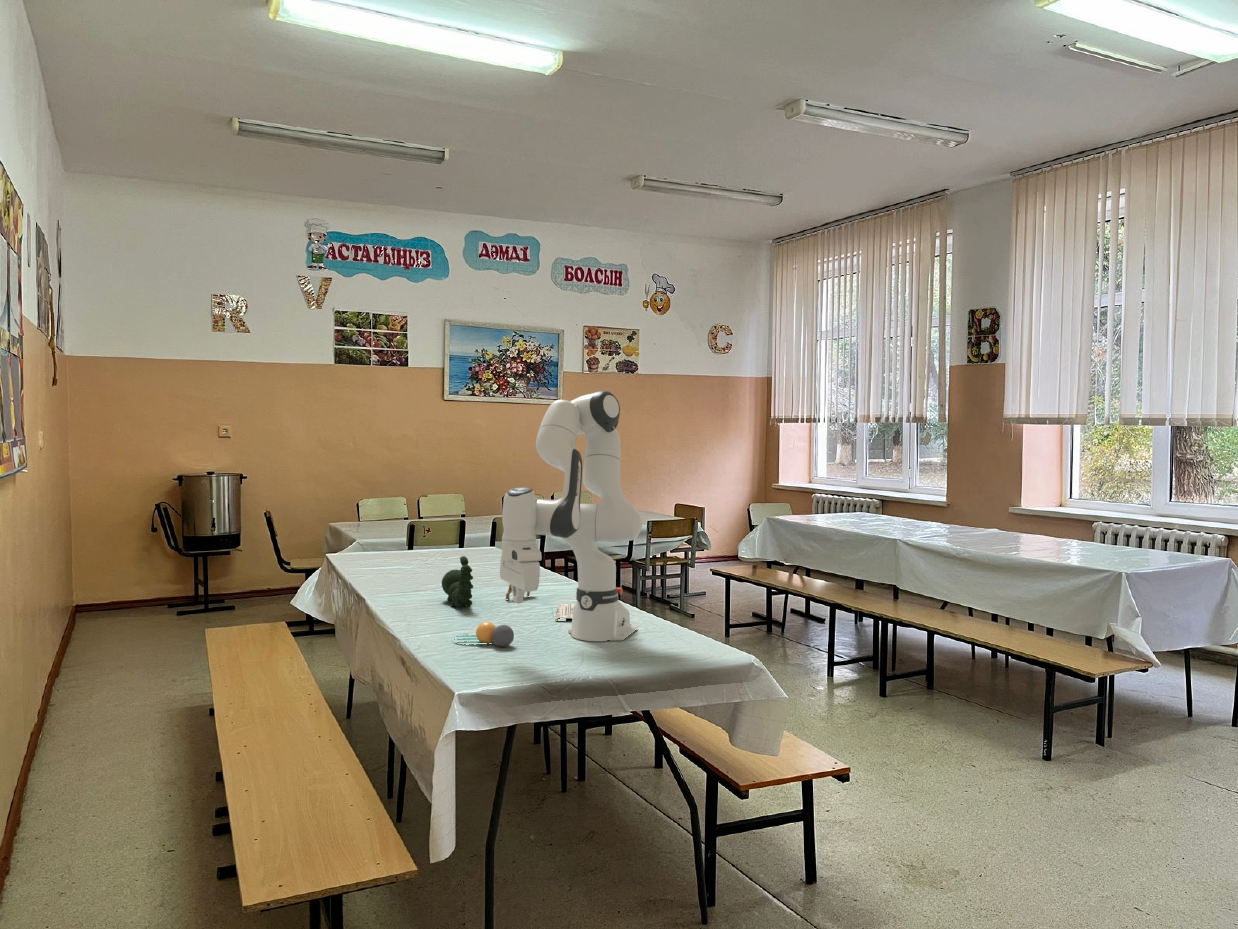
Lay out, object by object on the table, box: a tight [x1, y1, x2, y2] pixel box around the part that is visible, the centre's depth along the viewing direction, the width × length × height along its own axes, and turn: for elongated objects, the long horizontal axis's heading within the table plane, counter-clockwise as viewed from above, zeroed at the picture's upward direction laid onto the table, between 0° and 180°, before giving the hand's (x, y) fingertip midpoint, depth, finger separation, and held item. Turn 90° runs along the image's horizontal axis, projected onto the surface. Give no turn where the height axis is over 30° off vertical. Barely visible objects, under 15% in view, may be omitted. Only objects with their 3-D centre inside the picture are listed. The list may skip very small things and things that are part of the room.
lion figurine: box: [505, 583, 531, 602], centre depth 297 cm, size 15×5×9 cm, turn 155°
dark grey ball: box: [492, 624, 515, 648], centre depth 231 cm, size 6×6×6 cm
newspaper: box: [554, 603, 574, 622], centre depth 273 cm, size 23×12×2 cm, turn 3°
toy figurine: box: [441, 555, 474, 607], centre depth 286 cm, size 9×19×25 cm
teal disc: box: [454, 635, 494, 647], centre depth 238 cm, size 14×14×1 cm
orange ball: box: [475, 621, 497, 643], centre depth 235 cm, size 6×6×6 cm
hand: (518, 602), depth 218 cm, fingers closed
